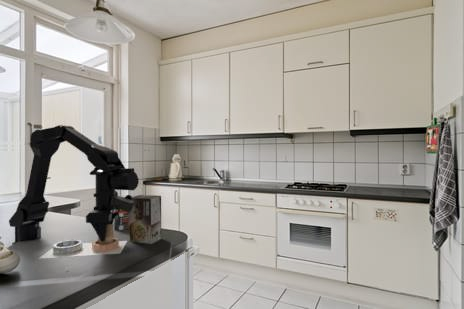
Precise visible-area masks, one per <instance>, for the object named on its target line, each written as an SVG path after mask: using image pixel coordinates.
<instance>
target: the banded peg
mask: <svg viewBox="0 0 464 309" xmlns="http://www.w3.org/2000/svg"><path fill="white" fill-rule="evenodd" d="M113 238H114V223H113V224H108V227H107V233H106V239H105V241H103V242H101V240H100V239H99V237H98V236H97V240H98V244H99V245H103V244H110V243H113Z"/></svg>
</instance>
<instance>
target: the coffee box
mask: <svg viewBox="0 0 464 309" xmlns="http://www.w3.org/2000/svg"><path fill="white" fill-rule="evenodd" d="M132 200H134V201H135V202H134V204H133V207H132V210H131V211H130V212H129V217H130V230H129V242H132V243H140V244H147V245H152V244H154V243H156V242H158V241H160V240H162V195H151V194H150V195H149V194H139V195H134V196H132Z"/></svg>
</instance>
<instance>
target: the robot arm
mask: <svg viewBox="0 0 464 309" xmlns="http://www.w3.org/2000/svg"><path fill="white" fill-rule="evenodd" d="M29 142H30V143H29V146H30V149H31V151H32V154H33V157H32V162H31V163H32V164H31V169H30V173H29V177H28V178H29V179H28V184H27V189H26V194H25V196H23V198H22V199H21V200H20V201H19V202H18V205H17V207H16V211H15V212H14V213H13V215H12V216H11V218H9V220H8V223H9V226H10V228H11V227H13V228H14V241H13V242H12V243H11V245H12V246H13V245H14V244H17V243H18V242H29V241H35V240H39V239H41V238H42V227H41V226H40V223H41V222H42V223H43V222H44V220H45V217H46V215H47V213H48V212H49V205H50V202H49V201H48V200H46V198H45V195H44V194H45V190H46V186H47V180H48V175H49V172H50V171H49V170H50V167H51V166H50V165H51V160H52V158H53V156H54V155H55V154H56V153H57V151H58V150H59V148H60V145H61V144H62V143H64V142H67V143H69V145H72V146H73V147H74V148H76V149H77V150H79V151H80V152H81V153H83V154H85V156H86V158H87V161H88V162H89V163H90V164H92V166H93V167H94V168H93V170H91V171H90V172H89V175H90V176H95V193H93V197H94V198H95V205H94V206H93V209H92V210H91V211H90V212H88V213H87V215H85V223H86V224H90V225H91V227H92V228H93V230H94V231H95V233H96V234H97V238H98V237H99V239H100V240H101V242H103V241H105V239H106V233H107V227H108V224H113V225H114V218H115V217H116V216H117V215H118V214H119V213H120V212H115V209H118V211H120V210H123V211H125V212H130V211H131V210H132V207H133V204H134V202H135V201H134V200H132V197H133V196H132V195H131V194H127V195H125V196H119V193H118V191H135V190H136V189H137V188H138V185H139V176H138V174H137V173H136V172H135V168H134V167H131V168H130V167H129V168H126V167H125V165H124V164H123V162H122V160H121V158H120V157H119V154H118V152H117V151H116V150H114V149H113V148H110V147H107V146H103V145H100V144H98V143H96V142H95V141H93V140H91V139H90V138H88V137H87V136H86V135H84V134H82V133H81V132H80V131H78V130H77V129H75V128H74V127H73V126H71V125H66V124H59V125H56V126H53V127H48V128H43V129H36V130H34V131H32V132H31V134H30V141H29ZM117 190H118V191H117Z"/></svg>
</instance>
